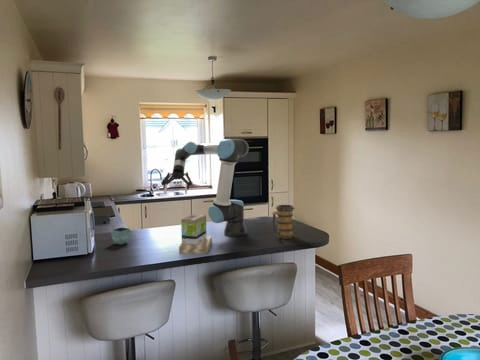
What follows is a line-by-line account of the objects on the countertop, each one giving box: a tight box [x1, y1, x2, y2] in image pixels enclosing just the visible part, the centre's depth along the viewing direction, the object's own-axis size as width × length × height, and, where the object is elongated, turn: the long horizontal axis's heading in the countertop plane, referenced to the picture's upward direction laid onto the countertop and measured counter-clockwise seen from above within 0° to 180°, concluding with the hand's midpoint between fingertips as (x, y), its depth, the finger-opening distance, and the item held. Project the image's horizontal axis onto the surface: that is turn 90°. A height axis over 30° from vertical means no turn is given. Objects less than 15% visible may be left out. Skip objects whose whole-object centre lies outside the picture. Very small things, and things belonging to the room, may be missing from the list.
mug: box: [271, 204, 296, 240], centre depth 239 cm, size 13×17×20 cm
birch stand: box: [178, 235, 213, 254], centre depth 221 cm, size 16×22×4 cm
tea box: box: [180, 214, 207, 245], centre depth 219 cm, size 15×10×15 cm, turn 164°
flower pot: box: [110, 226, 131, 245], centre depth 233 cm, size 9×9×9 cm
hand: (175, 193), depth 241 cm, fingers open, 13 cm apart
